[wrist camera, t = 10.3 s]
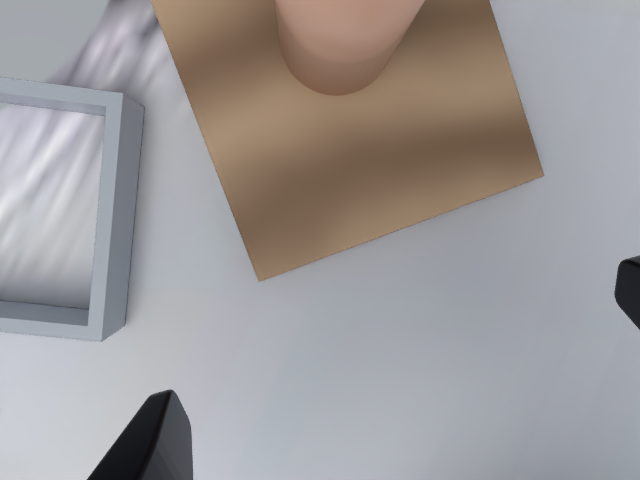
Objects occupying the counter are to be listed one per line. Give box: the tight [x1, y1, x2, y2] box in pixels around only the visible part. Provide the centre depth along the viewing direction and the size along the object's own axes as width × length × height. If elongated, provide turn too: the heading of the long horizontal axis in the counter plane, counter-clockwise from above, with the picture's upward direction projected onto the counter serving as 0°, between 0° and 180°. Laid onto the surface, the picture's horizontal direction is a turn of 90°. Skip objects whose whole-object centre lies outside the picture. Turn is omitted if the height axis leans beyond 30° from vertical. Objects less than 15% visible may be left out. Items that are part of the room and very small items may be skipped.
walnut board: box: [151, 0, 544, 282], centre depth 20 cm, size 18×14×1 cm
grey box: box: [0, 77, 145, 342], centre depth 19 cm, size 10×10×2 cm
